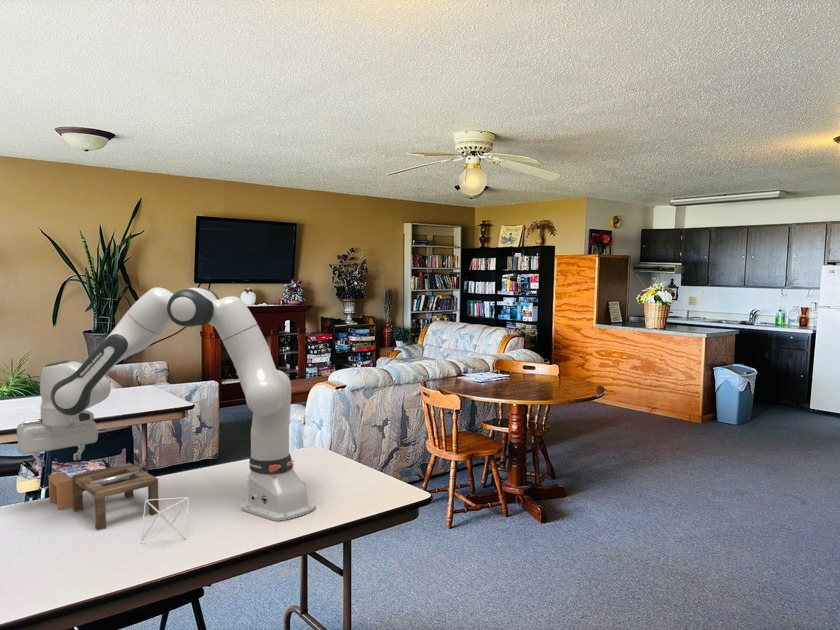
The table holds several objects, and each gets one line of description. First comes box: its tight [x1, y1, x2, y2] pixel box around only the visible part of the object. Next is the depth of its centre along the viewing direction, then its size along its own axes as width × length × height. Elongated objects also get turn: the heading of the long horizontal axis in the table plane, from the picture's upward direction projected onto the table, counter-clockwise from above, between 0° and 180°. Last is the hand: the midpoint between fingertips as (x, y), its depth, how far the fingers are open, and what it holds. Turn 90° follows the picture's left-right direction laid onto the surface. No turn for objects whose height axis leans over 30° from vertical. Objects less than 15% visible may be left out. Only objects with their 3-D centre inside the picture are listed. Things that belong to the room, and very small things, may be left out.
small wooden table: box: [71, 462, 160, 531], centre depth 170 cm, size 20×16×10 cm
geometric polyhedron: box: [139, 496, 190, 544], centre depth 155 cm, size 12×11×9 cm
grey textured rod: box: [90, 471, 139, 486], centre depth 170 cm, size 2×13×2 cm, turn 136°
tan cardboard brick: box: [48, 471, 73, 511], centre depth 176 cm, size 9×4×8 cm, turn 47°
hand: (59, 463), depth 175 cm, fingers open, 8 cm apart
